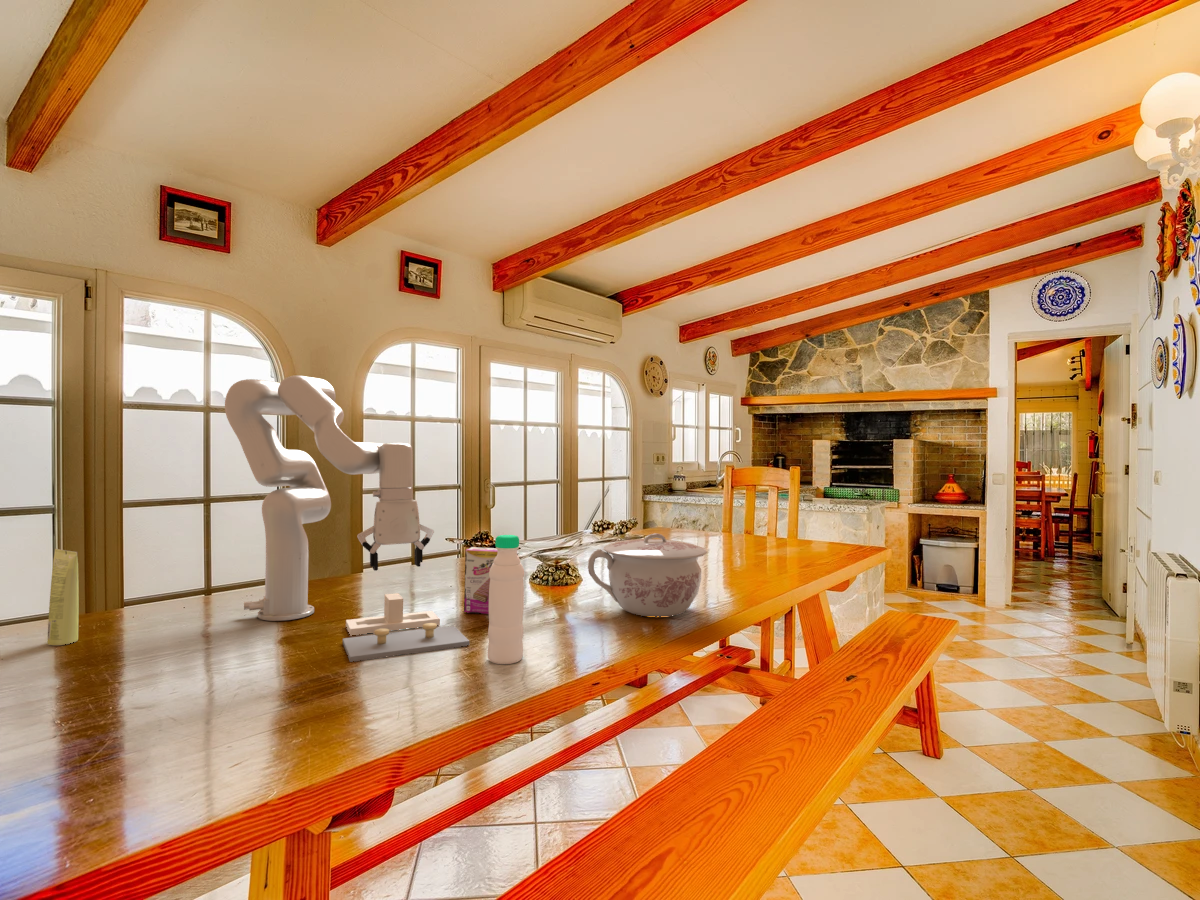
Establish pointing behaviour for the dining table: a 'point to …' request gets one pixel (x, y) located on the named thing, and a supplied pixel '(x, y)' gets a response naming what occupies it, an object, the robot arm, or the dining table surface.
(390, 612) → the pink tray with post
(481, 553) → the candy bar box
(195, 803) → the dining table surface
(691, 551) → the chamber pot
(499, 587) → the water bottle
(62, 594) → the tube
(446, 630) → the board
